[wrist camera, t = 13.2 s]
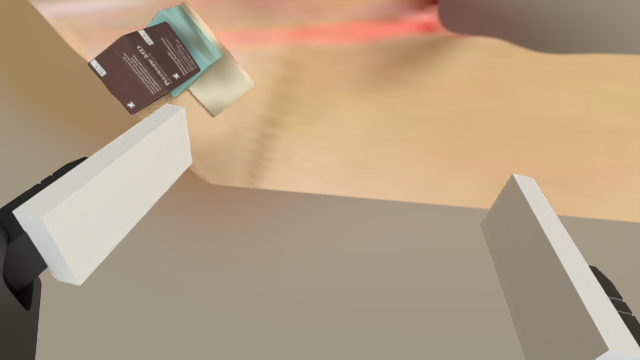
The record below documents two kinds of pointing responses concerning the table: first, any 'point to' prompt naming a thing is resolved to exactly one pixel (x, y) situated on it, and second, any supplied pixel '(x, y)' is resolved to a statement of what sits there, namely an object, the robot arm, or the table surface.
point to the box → (144, 66)
